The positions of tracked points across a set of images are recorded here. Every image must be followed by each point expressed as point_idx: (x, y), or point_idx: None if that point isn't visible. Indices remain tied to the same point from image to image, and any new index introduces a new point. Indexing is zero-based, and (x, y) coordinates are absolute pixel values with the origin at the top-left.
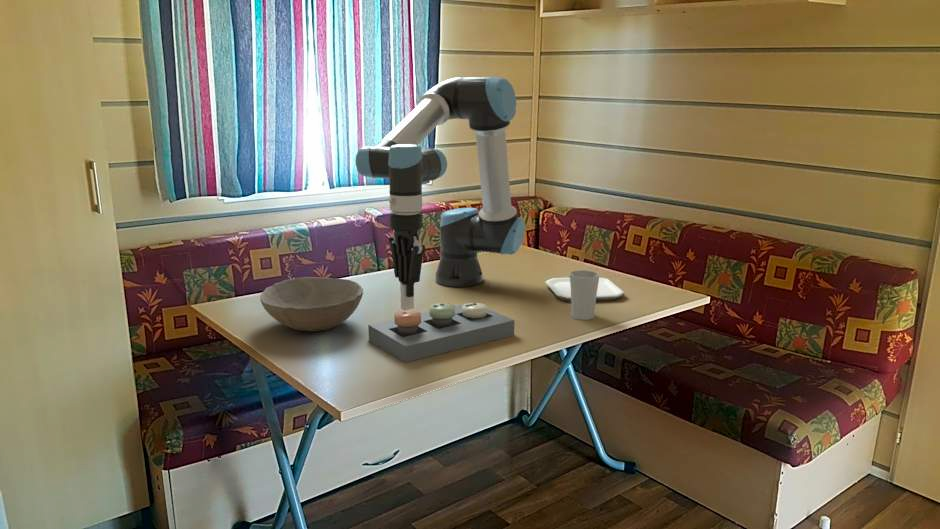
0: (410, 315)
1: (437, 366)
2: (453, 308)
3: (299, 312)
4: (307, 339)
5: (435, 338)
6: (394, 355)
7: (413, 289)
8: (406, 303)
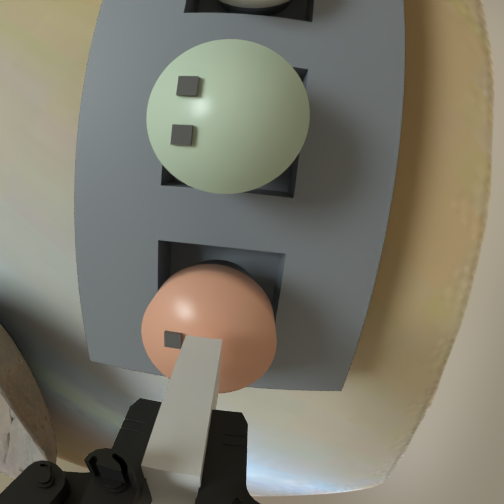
0: (229, 342)
1: (411, 309)
2: (294, 78)
3: None
4: (56, 407)
5: (368, 281)
6: None
7: (246, 456)
8: (215, 402)
